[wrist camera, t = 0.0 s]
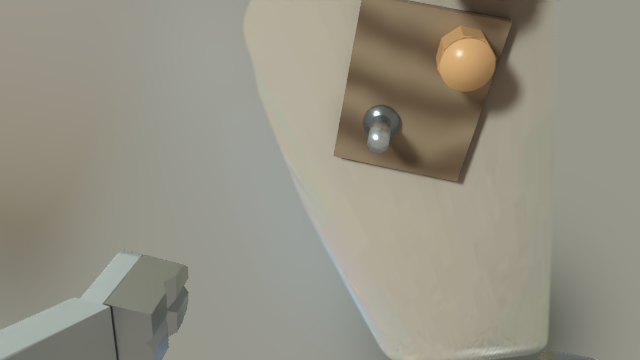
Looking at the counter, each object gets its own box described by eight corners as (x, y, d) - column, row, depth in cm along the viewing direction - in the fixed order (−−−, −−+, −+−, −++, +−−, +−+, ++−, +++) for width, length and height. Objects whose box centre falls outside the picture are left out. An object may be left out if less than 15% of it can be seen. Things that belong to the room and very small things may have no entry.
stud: (367, 101, 57) (362, 121, 52) (403, 108, 57) (402, 129, 52) (360, 134, 60) (355, 156, 54) (395, 141, 59) (393, 164, 54)
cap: (445, 23, 51) (448, 34, 47) (495, 32, 51) (503, 44, 47) (432, 71, 54) (433, 86, 50) (479, 80, 54) (485, 96, 49)
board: (363, -8, 52) (362, -6, 51) (510, 19, 51) (512, 22, 50) (335, 150, 63) (333, 156, 62) (455, 175, 62) (456, 181, 61)
